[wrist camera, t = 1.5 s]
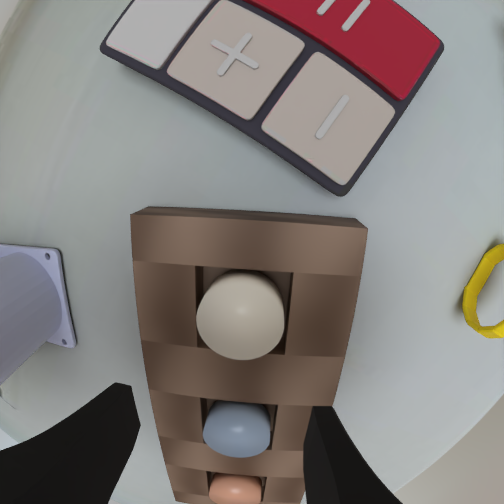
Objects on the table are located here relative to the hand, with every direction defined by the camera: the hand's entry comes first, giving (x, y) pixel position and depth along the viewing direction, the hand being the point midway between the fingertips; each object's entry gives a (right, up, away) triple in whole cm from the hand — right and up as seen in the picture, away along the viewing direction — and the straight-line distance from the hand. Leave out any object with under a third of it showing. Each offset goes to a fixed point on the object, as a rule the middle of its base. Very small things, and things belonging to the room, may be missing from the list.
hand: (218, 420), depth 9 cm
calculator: (+2, +17, +6) cm, 18 cm away
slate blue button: (0, -6, +11) cm, 12 cm away
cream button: (+1, +3, +8) cm, 9 cm away
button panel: (0, -6, +13) cm, 14 cm away
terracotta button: (0, -15, +13) cm, 20 cm away
